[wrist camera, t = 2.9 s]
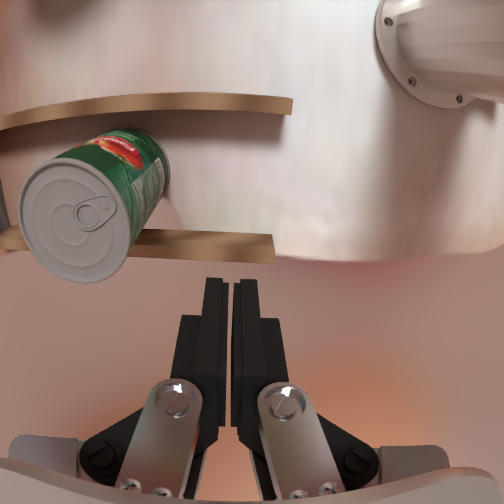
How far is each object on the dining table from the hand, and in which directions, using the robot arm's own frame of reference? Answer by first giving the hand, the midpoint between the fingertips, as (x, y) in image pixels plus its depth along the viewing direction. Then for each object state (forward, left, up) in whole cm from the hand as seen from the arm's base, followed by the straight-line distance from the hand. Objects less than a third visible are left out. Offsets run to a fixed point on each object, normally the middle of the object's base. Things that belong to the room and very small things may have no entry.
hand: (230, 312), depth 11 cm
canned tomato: (+9, 0, -17) cm, 19 cm away
